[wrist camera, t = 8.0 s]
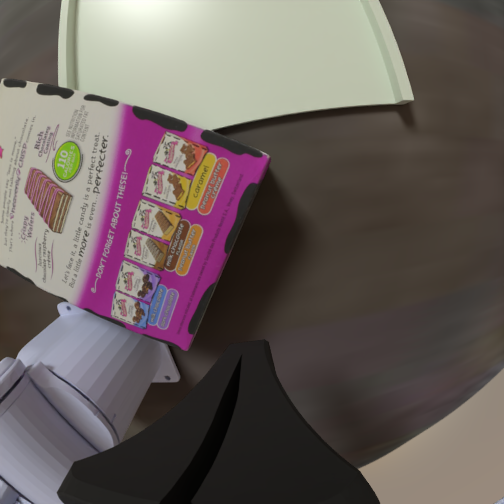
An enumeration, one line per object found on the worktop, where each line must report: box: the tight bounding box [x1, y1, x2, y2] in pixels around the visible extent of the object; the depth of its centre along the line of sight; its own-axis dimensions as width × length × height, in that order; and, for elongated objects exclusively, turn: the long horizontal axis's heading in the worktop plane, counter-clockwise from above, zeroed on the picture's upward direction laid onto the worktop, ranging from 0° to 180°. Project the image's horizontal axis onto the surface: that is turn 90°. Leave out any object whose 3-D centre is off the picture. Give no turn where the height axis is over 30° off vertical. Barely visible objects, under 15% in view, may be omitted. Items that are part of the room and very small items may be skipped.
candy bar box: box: [0, 79, 271, 351], centre depth 14 cm, size 11×5×16 cm
